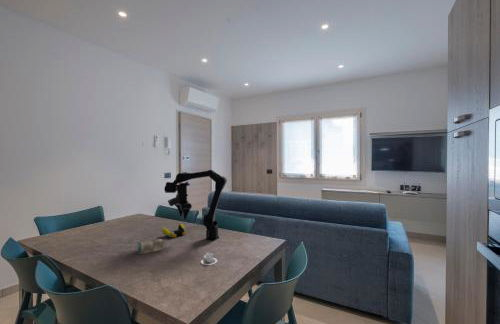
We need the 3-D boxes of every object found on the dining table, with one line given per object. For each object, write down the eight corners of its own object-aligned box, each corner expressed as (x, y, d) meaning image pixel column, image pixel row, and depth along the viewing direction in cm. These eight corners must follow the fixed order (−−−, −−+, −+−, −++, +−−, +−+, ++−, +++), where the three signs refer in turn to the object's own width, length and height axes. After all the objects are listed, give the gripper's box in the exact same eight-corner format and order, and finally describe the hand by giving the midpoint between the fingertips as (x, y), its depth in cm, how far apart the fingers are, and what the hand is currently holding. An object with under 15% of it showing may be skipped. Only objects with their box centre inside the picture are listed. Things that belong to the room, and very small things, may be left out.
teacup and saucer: (203, 257, 116) (203, 249, 116) (219, 258, 116) (219, 250, 116) (198, 265, 107) (198, 257, 107) (215, 266, 107) (215, 257, 107)
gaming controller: (161, 236, 148) (168, 239, 141) (160, 227, 148) (168, 231, 141) (181, 230, 159) (189, 233, 153) (181, 223, 159) (189, 225, 152)
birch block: (161, 239, 130) (137, 243, 124) (163, 241, 126) (138, 245, 120) (161, 246, 130) (137, 251, 124) (163, 249, 126) (138, 254, 120)
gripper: (165, 192, 148) (166, 216, 148) (172, 195, 132) (173, 222, 132) (182, 190, 154) (183, 213, 154) (191, 194, 138) (192, 219, 138)
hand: (182, 217), depth 144 cm, fingers open, 9 cm apart
